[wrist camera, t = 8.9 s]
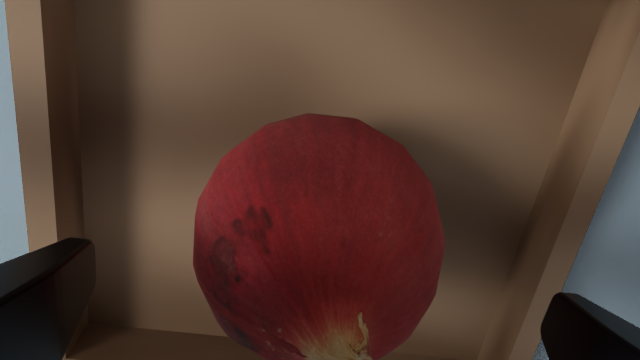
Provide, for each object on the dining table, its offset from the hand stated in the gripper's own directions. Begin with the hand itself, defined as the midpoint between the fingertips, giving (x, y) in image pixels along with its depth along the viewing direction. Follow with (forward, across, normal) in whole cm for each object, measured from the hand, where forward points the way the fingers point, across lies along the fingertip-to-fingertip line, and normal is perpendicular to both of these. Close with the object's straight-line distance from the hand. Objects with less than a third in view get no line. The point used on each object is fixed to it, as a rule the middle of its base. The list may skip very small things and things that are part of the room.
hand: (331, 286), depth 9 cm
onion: (+6, 0, 0) cm, 6 cm away
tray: (+7, 0, 0) cm, 7 cm away
